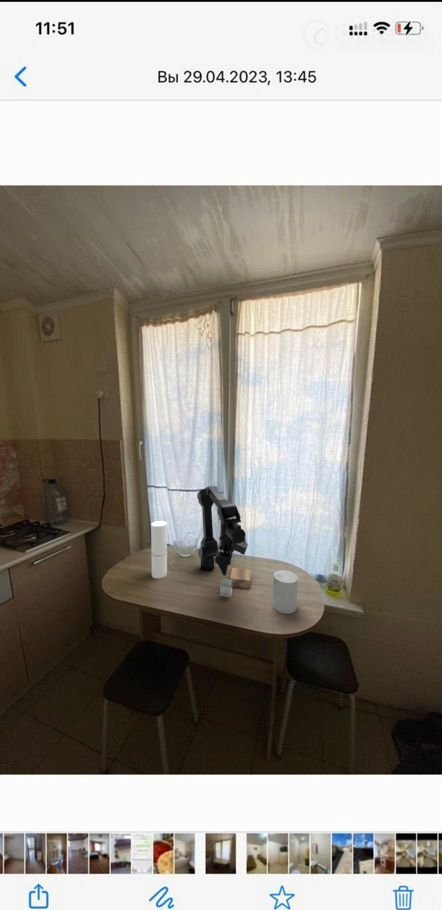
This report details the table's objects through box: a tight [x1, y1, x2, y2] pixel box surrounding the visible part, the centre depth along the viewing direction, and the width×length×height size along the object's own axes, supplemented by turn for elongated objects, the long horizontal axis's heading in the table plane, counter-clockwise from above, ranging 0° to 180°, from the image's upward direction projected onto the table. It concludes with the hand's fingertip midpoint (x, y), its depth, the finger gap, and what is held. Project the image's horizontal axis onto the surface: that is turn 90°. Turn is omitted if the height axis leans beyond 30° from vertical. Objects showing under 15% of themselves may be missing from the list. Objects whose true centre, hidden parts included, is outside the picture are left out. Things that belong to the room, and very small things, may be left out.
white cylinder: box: [271, 568, 299, 615], centre depth 99 cm, size 10×10×12 cm
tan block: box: [229, 567, 252, 589], centre depth 114 cm, size 9×9×4 cm
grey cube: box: [219, 578, 233, 598], centre depth 106 cm, size 5×5×5 cm
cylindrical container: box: [150, 520, 168, 579], centre depth 118 cm, size 7×7×25 cm
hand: (226, 569), depth 105 cm, fingers open, 9 cm apart
